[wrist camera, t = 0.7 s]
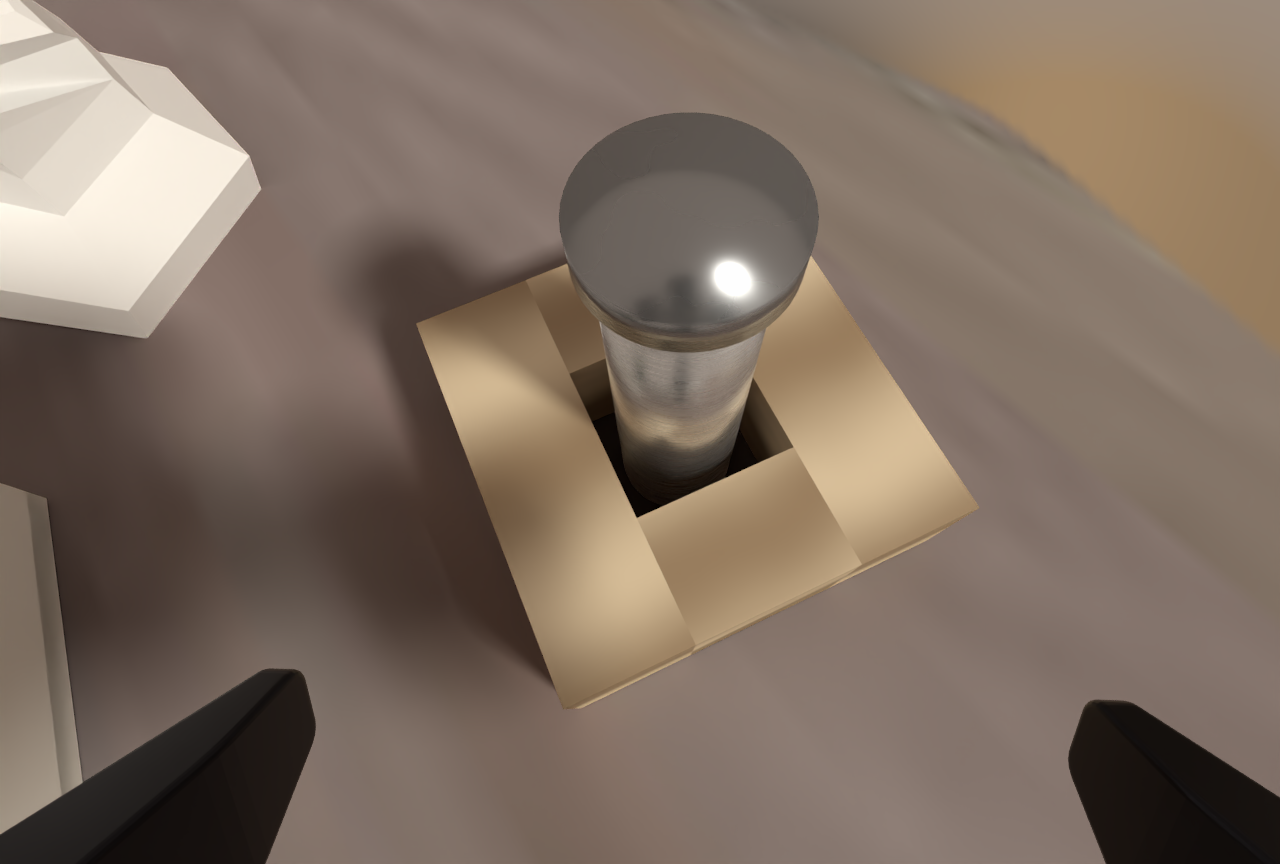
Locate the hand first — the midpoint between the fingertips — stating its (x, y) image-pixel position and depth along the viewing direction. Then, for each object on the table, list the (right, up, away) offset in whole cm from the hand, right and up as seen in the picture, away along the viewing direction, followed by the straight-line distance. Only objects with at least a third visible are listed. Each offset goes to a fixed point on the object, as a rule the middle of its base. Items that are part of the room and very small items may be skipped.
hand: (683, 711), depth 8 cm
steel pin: (+1, +2, +15) cm, 16 cm away
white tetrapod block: (-23, +12, +20) cm, 33 cm away
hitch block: (+1, +2, +15) cm, 15 cm away
